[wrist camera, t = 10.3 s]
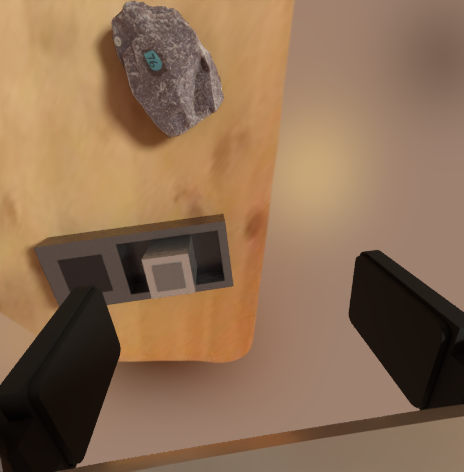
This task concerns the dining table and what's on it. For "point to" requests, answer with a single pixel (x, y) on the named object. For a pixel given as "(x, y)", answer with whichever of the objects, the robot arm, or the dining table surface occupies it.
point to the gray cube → (170, 266)
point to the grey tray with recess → (131, 258)
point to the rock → (166, 66)
